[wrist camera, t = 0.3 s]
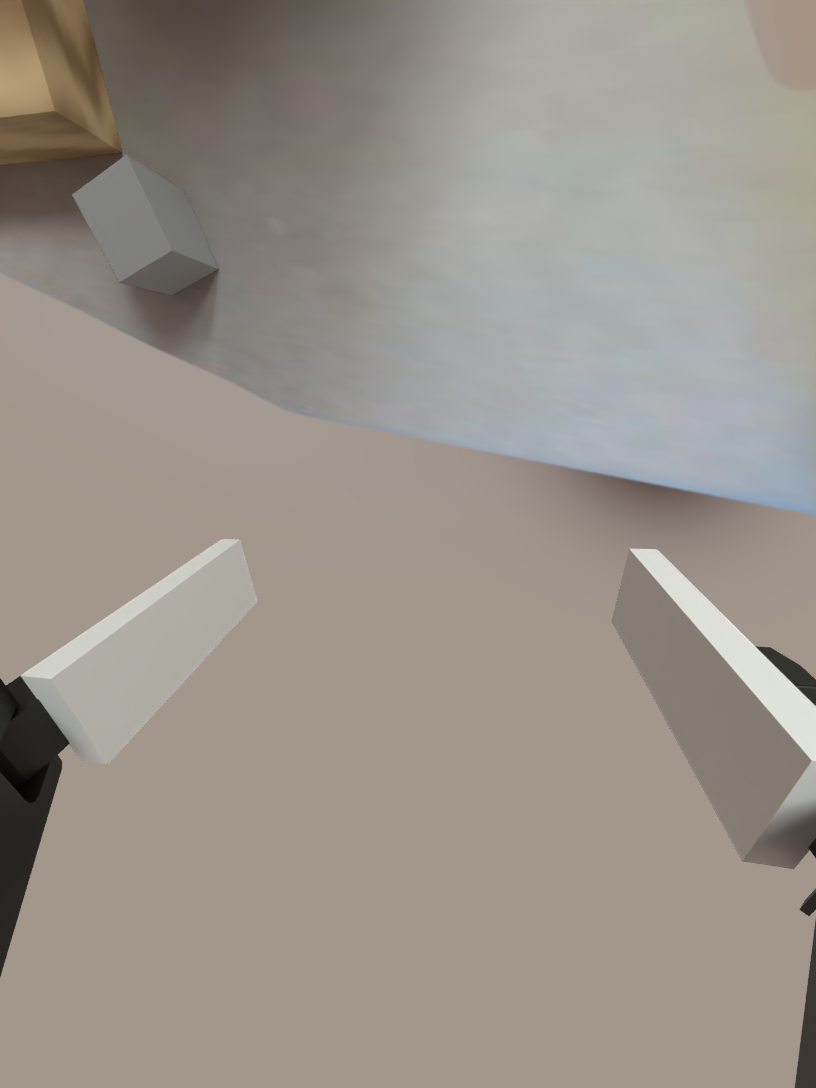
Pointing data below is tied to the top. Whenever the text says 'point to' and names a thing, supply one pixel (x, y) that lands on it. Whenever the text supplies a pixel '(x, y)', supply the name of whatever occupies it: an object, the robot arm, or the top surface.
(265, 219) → the top surface
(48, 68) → the oak block
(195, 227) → the grey block
